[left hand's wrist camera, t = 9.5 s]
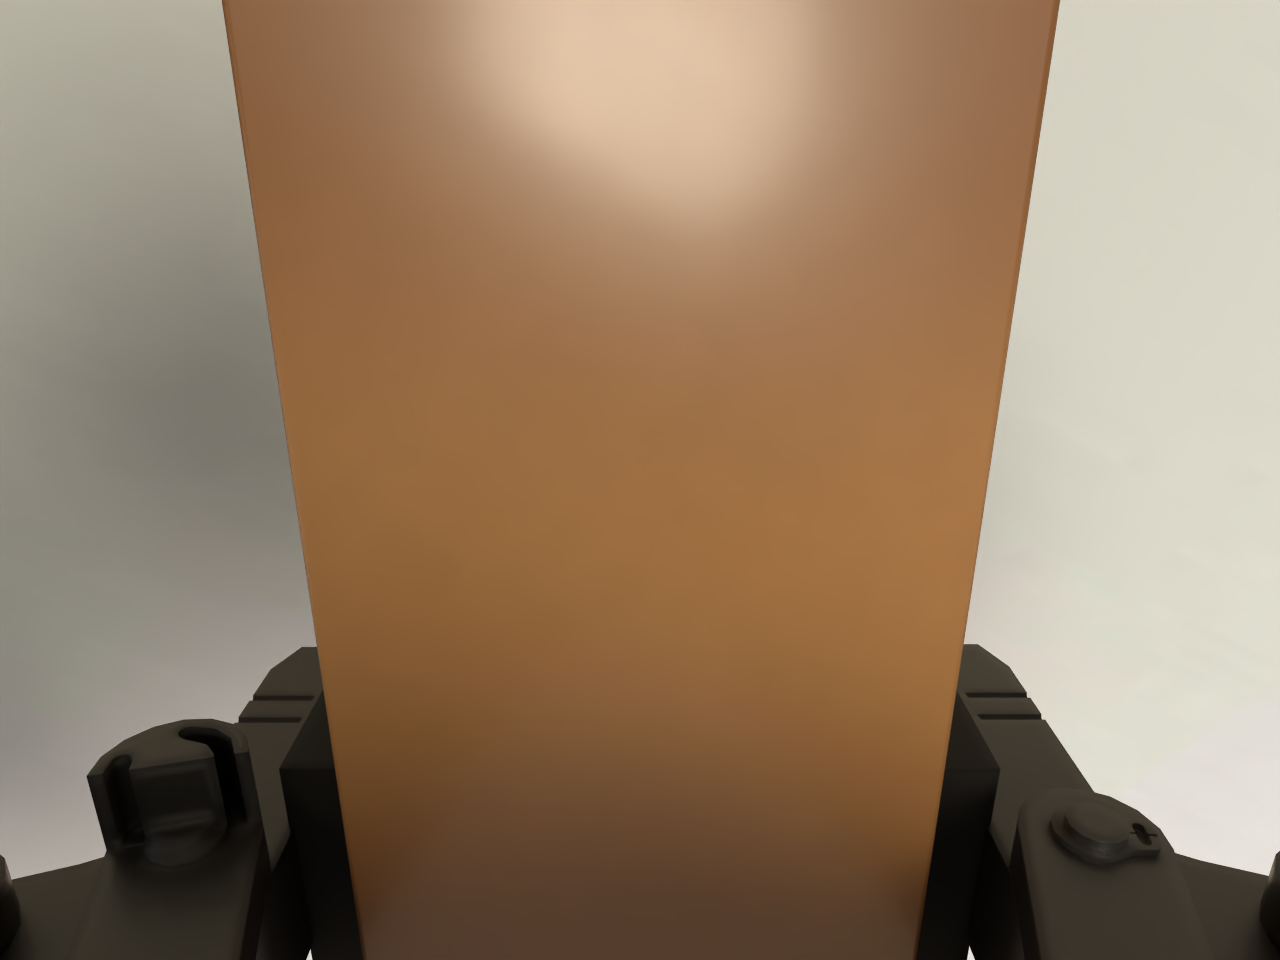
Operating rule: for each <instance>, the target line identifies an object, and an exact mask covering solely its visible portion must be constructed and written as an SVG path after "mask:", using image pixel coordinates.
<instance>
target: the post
mask: <svg viewBox="0 0 1280 960" xmlns="http://www.w3.org/2000/svg"><path fill="white" fill-rule="evenodd" d="M1059 4H1060V0H222V5H223V11H224V18H225V25H226V32H227V39H228V45H229V52H230V59H231V66H232V72H233V79H234V86H235V93H236V100H237V106H238V113H239V120H240V127H241V134H242V140H243V147H244V154H245V161H246V168H247V174H248V181H249V188H250V195H251V201H252V208H253V215H254V222H255V229H256V235H257V242H258V249H259V256H260V263H261V269H262V276H263V283H264V290H265V297H266V303H267V310H268V317H269V324H270V330H271V337H272V344H273V351H274V358H275V364H276V371H277V378H278V385H279V392H280V398H281V405H282V412H283V419H284V426H285V432H286V439H287V446H288V453H289V459H290V466H291V473H292V480H293V487H294V493H295V500H296V507H297V514H298V521H299V527H300V534H301V541H302V548H303V554H304V561H305V568H306V575H307V582H308V588H309V595H310V602H311V609H312V616H313V622H314V629H315V636H316V643H317V650H318V656H319V663H320V670H321V677H322V683H323V690H324V697H325V704H326V711H327V717H328V724H329V731H330V738H331V745H332V751H333V758H334V765H335V772H336V779H337V785H338V792H339V799H340V806H341V812H342V819H343V826H344V833H345V840H346V846H347V853H348V860H349V867H350V874H351V880H352V887H353V894H354V901H355V908H356V914H357V921H358V928H359V935H360V941H361V948H362V955H363V960H916V957H917V951H918V944H919V937H920V931H921V924H922V917H923V911H924V904H925V897H926V891H927V884H928V877H929V871H930V864H931V857H932V851H933V844H934V837H935V831H936V824H937V817H938V811H939V804H940V797H941V791H942V784H943V777H944V771H945V764H946V757H947V751H948V744H949V737H950V731H951V724H952V717H953V711H954V704H955V697H956V690H957V684H958V677H959V670H960V664H961V657H962V650H963V644H964V637H965V630H966V624H967V617H968V610H969V604H970V597H971V590H972V584H973V577H974V570H975V564H976V557H977V550H978V544H979V537H980V530H981V524H982V517H983V510H984V504H985V497H986V490H987V484H988V477H989V470H990V464H991V457H992V450H993V444H994V437H995V430H996V424H997V417H998V410H999V404H1000V397H1001V390H1002V384H1003V377H1004V370H1005V364H1006V357H1007V350H1008V344H1009V337H1010V330H1011V324H1012V317H1013V310H1014V304H1015V297H1016V290H1017V284H1018V277H1019V270H1020V264H1021V257H1022V250H1023V244H1024V237H1025V230H1026V224H1027V217H1028V210H1029V204H1030V197H1031V190H1032V184H1033V177H1034V170H1035V164H1036V157H1037V150H1038V144H1039V137H1040V130H1041V124H1042V117H1043V110H1044V104H1045V97H1046V90H1047V84H1048V77H1049V70H1050V64H1051V57H1052V50H1053V44H1054V37H1055V30H1056V24H1057V17H1058V10H1059Z"/></svg>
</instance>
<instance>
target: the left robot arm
mask: <svg viewBox="0 0 1280 960" xmlns="http://www.w3.org/2000/svg"><path fill="white" fill-rule="evenodd" d="M87 779H88V783H89V787H90V791H91V794H92V798H93V802H94V805H95V809H96V813H97V816H98V820H99V824H100V827H101V831H102V835H103V838H104V842H105V846H106V849H107V851H106V854H105V856H104V857H102V858H99V859H96V860H92V861H89V862H86V863H82V864H79V865H74V866H70V867H66V868H61V869H57V870H53V871H48V872H44V873H39V874H35V875H31V876H26V877H22V878H17V879H13V880H11V877H10V874H9V871H8V867H7V864H6V861H5V858H4V857H2V856H1V855H0V960H306V959H307V956H308V954H309V951H310V949H311V954H312V959H313V960H363V955H362V948H361V941H360V935H359V928H358V921H357V914H356V908H355V901H354V894H353V887H352V880H351V874H350V867H349V860H348V853H347V846H346V840H345V833H344V826H343V819H342V812H341V806H340V799H339V792H338V785H337V779H336V772H335V765H334V758H333V751H332V745H331V738H330V731H329V724H328V717H327V711H326V704H325V697H324V690H323V683H322V677H321V670H320V663H319V656H318V650H317V647H301V648H300V649H299V650H297V651H296V652H295V653H293V654H292V655H290V656H289V657H288V658H286V659H285V660H283V661H282V662H281V663H279V664H278V665H276V666H275V667H274V668H272V669H271V670H270V671H269V673H268V674H267V676H266V677H265V679H264V680H263V682H262V683H261V685H260V686H259V688H258V689H257V691H256V692H255V694H254V695H253V701H249V703H248V704H247V706H246V707H245V709H244V710H243V712H242V713H241V715H240V716H239V721H238V723H234V724H231V723H227V722H223V721H219V720H214V719H191V720H181V721H177V722H172V723H168V724H164V725H160V726H156V727H153V728H150V729H148V730H146V731H144V732H141V733H139V734H137V735H135V736H132V737H130V738H128V739H126V740H124V741H123V742H121V743H120V744H118V745H117V746H116V747H114V748H113V749H111V750H110V751H109V752H107V753H106V754H105V755H103V756H102V757H101V758H100V759H99V760H98V762H97V763H96V764H95V766H94V767H93V768H92V770H91V771H90V772H89V774H88V775H87ZM969 946H970V948H971V951H972V953H973V956H974V958H975V960H1280V851H1279V852H1278V853H1277V854H1276V856H1275V859H1274V862H1273V865H1272V868H1271V871H1270V874H1269V876H1266V875H1262V874H1257V873H1253V872H1248V871H1244V870H1240V869H1235V868H1231V867H1226V866H1222V865H1218V864H1213V863H1209V862H1204V861H1200V860H1197V859H1193V858H1190V857H1187V856H1183V855H1180V854H1176V853H1175V852H1174V849H1173V848H1172V846H1171V845H1170V843H1169V842H1168V840H1167V839H1166V837H1165V836H1164V834H1163V833H1162V831H1161V830H1160V828H1158V827H1157V826H1156V825H1155V824H1153V823H1152V822H1151V821H1150V820H1149V819H1147V818H1146V817H1145V816H1144V815H1143V814H1141V813H1140V812H1139V811H1138V810H1136V809H1134V808H1132V807H1130V806H1128V805H1126V804H1124V803H1122V802H1120V801H1118V800H1116V799H1114V798H1112V797H1110V796H1106V795H1102V794H1098V793H1095V792H1094V791H1093V790H1092V788H1091V787H1090V785H1089V784H1088V782H1087V781H1086V779H1085V778H1084V777H1083V775H1082V774H1081V772H1080V771H1079V769H1078V768H1077V766H1076V765H1075V763H1074V762H1073V760H1072V759H1071V757H1070V756H1069V754H1068V753H1067V751H1066V750H1065V748H1064V747H1063V746H1062V744H1061V743H1060V741H1059V740H1058V738H1057V737H1056V735H1055V734H1054V732H1053V731H1052V729H1051V728H1050V726H1049V725H1048V723H1047V722H1046V720H1042V718H1041V713H1040V712H1039V710H1038V709H1037V707H1036V706H1035V704H1034V703H1033V701H1032V700H1031V698H1027V692H1026V691H1025V689H1024V688H1023V686H1022V685H1021V684H1020V682H1019V681H1018V679H1017V678H1016V676H1015V675H1014V673H1013V672H1012V670H1011V669H1010V667H1009V666H1007V665H1006V664H1005V663H1003V662H1002V661H1000V660H999V659H998V658H996V657H995V656H993V655H992V654H991V653H989V652H988V651H986V650H985V649H984V648H982V647H981V646H979V645H978V644H963V650H962V657H961V664H960V670H959V677H958V684H957V690H956V697H955V704H954V711H953V717H952V724H951V731H950V737H949V744H948V751H947V757H946V764H945V771H944V777H943V784H942V791H941V797H940V804H939V811H938V817H937V824H936V831H935V837H934V844H933V851H932V857H931V864H930V871H929V877H928V884H927V891H926V897H925V904H924V911H923V917H922V924H921V931H920V937H919V944H918V951H917V957H916V960H967V956H968V950H969Z"/></svg>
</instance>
